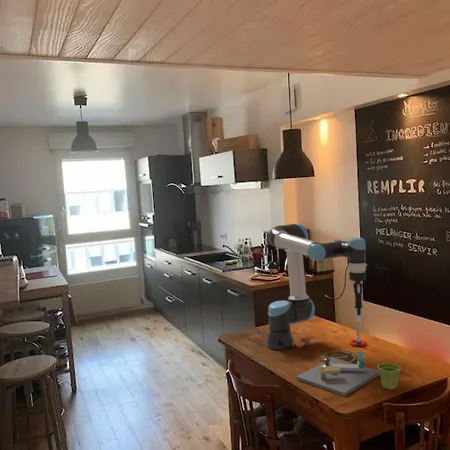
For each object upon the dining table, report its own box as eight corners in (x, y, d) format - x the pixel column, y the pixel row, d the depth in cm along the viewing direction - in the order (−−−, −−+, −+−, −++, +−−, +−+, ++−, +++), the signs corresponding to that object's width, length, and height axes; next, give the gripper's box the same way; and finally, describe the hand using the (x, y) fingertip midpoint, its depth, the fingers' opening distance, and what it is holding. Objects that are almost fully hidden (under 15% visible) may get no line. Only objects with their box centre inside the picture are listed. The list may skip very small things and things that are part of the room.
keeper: (318, 376, 211) (318, 366, 211) (337, 374, 212) (337, 365, 211) (321, 380, 206) (321, 371, 206) (340, 379, 207) (340, 370, 206)
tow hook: (348, 341, 259) (350, 346, 250) (347, 318, 259) (349, 322, 249) (364, 341, 258) (366, 346, 249) (363, 318, 257) (366, 322, 248)
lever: (321, 370, 216) (320, 353, 215) (321, 366, 221) (321, 349, 220) (364, 372, 212) (364, 354, 211) (363, 367, 217) (363, 350, 216)
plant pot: (374, 382, 205) (373, 363, 205) (395, 381, 206) (394, 361, 205) (383, 392, 196) (382, 372, 195) (405, 390, 197) (404, 370, 196)
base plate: (296, 379, 213) (296, 376, 212) (333, 360, 232) (333, 357, 232) (344, 396, 194) (344, 392, 194) (380, 374, 214) (380, 371, 214)
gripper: (367, 274, 212) (368, 325, 215) (364, 268, 225) (366, 317, 227) (349, 274, 214) (351, 325, 216) (348, 268, 227) (349, 317, 229)
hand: (358, 321), depth 222 cm, fingers closed
